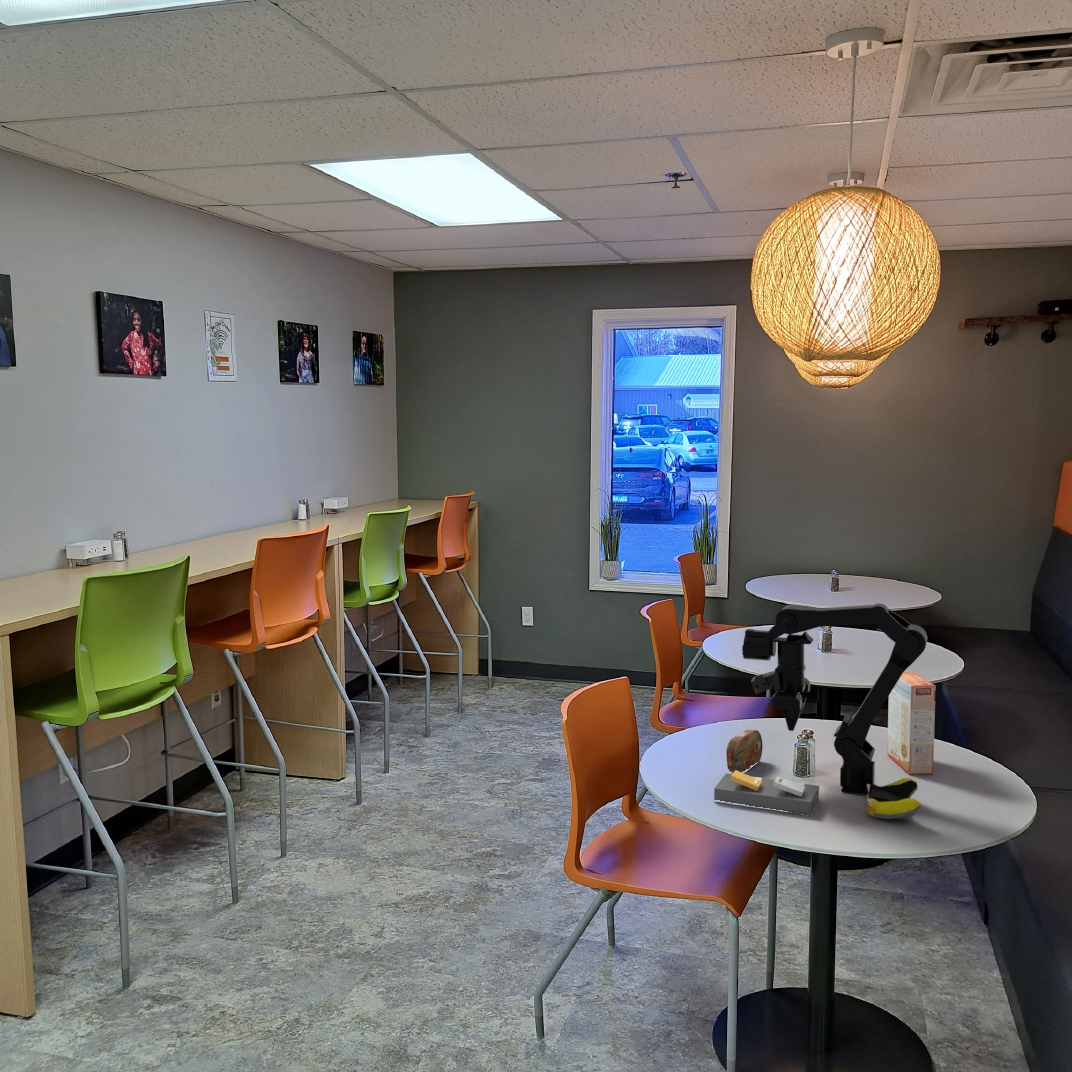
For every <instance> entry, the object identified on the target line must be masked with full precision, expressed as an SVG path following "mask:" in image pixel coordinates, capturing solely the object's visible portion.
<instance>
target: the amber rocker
mask: <svg viewBox="0 0 1072 1072" xmlns="http://www.w3.org/2000/svg"><path fill="white" fill-rule="evenodd" d="M731 774H732V775H731V778H730V780H732V781H734V782H737V783H739V784H742V785H744V786H746V787H749V788H751V789H753V790H756V791H758V789H759V788H760V786H761V784H762V781H761V780H758V779H756V778H753V777H754V776H751V775H748V774H746V773H745V774H744V773H741V772H739V771H737V770H735V771H734V773H731Z"/></svg>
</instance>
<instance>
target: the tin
mask: <svg viewBox="0 0 1072 1072" xmlns="http://www.w3.org/2000/svg"><path fill="white" fill-rule="evenodd" d="M762 753H763V738H762V734H761V733H760V731H759V730H756V729H755V730H753V729H745V730H743V731H741V732H739V734H737V735H735V736H734V737H732V738H731V739H730V740H729V742H728V744H727V746H726V764H727V766H726V767H727V769H728V771H729V772H730V773H731V772H732V773H731V774H733V773H734V771H735V770H737V771H739V772H741V773H742V772H743V771H745V770H746V769H749V768H750V766H751V765H754V764H755V763H757V762H759V763H760V761H761V759H762Z"/></svg>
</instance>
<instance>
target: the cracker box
mask: <svg viewBox="0 0 1072 1072" xmlns="http://www.w3.org/2000/svg"><path fill="white" fill-rule="evenodd" d="M887 712H888V713H887V714H888V717H887V756H888V757H889V758H891V760H892V761H894V762H895V763H896V764H897V765H898V766H900V767H901V768H902V769H903V770H904V771H905V772H906V773H907V774H909V775H933V774H934V752H935V749H934V747H935V717H936V716H935V715H936V713H935V712H936V685H935V684H933V683H932V682H930V681H928V680H927V679H925V678H923V677H922V676H920V675H919V674H917V673H915V672H914V671H909V670H908V671H907V670H905V671H904V672H903V674H902V675H901V677H900V678H899V680H898V682H897V683H896V685H895V686H894V688H893V690H892V691H891V693H890V695H889V696H888V711H887Z"/></svg>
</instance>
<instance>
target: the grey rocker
mask: <svg viewBox="0 0 1072 1072" xmlns="http://www.w3.org/2000/svg"><path fill="white" fill-rule="evenodd" d="M774 780H775V781H774V783H773V786H774V787H777V788H779V789H782V790H785V791H787V792H790V793H792V794H795V795H798V796H800V797H801V796H802V795H803V793H804V791H805V786H803V785H800V784H797V783H798V782H796V783H795V782H794V781H792V780H789V779H787V778H784V777H780V776H778V775H777V776H776V778H775V779H774Z"/></svg>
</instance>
